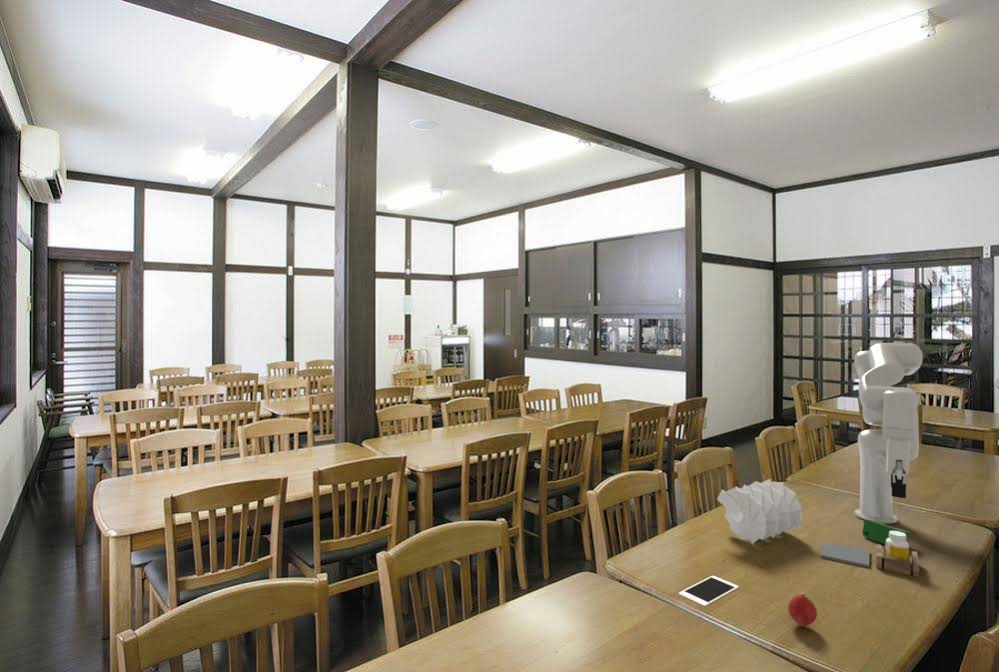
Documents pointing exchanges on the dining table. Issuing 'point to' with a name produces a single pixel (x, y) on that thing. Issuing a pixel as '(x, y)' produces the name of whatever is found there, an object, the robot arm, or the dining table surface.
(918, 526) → the dining table surface
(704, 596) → the cell phone
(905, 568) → the frame
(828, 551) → the rubber mat
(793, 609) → the onion
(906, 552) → the supplement bottle
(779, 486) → the white origami shape
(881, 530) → the clamp
